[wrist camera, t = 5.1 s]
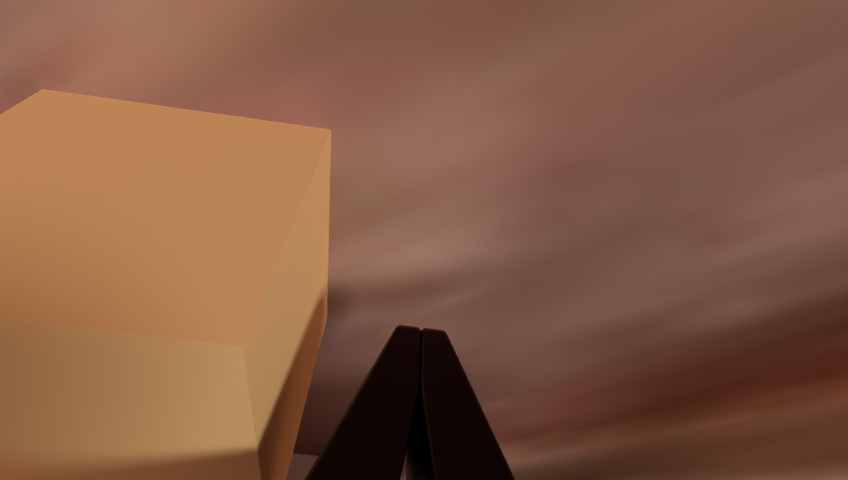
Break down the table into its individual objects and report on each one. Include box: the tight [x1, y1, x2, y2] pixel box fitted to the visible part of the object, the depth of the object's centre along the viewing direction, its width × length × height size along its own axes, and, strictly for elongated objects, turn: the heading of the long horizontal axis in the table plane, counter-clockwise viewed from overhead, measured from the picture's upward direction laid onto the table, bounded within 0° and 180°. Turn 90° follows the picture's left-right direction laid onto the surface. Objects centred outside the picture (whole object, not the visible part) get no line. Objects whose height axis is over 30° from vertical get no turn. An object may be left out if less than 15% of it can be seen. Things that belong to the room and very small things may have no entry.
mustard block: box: [0, 89, 331, 480], centre depth 8 cm, size 5×5×5 cm
